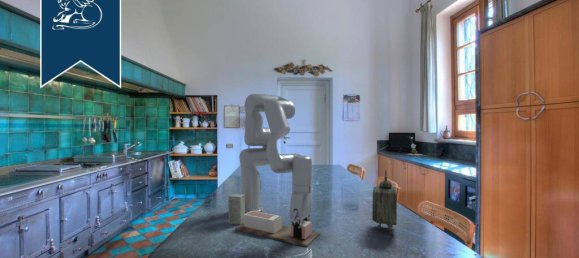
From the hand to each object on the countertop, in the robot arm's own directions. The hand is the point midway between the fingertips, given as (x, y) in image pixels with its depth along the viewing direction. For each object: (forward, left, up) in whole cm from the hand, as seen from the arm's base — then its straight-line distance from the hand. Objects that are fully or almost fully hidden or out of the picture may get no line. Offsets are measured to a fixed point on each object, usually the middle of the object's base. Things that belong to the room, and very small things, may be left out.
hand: (301, 234), depth 103 cm
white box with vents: (-18, 0, -1) cm, 18 cm away
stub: (0, 0, 0) cm, 0 cm away
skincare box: (-32, +1, -2) cm, 32 cm away
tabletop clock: (+27, +25, -2) cm, 37 cm away
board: (-11, 0, -1) cm, 11 cm away
